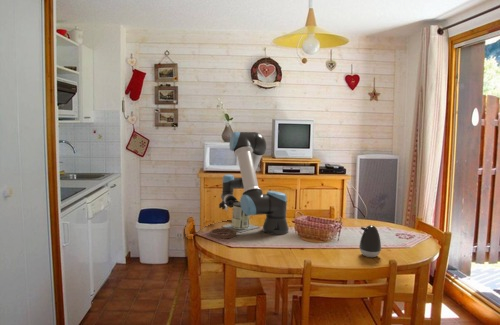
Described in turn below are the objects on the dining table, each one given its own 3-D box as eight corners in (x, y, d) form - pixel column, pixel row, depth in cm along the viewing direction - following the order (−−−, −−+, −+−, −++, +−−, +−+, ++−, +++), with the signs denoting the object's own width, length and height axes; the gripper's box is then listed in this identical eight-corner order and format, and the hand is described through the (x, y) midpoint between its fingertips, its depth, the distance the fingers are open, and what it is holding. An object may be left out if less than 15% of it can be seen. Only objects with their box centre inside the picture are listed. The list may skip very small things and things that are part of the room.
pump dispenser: (355, 252, 200) (357, 222, 198) (375, 252, 200) (377, 222, 199) (362, 259, 190) (364, 228, 188) (383, 259, 190) (386, 228, 189)
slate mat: (259, 227, 239) (259, 226, 239) (240, 232, 227) (240, 231, 227) (240, 222, 250) (240, 221, 250) (221, 226, 238) (221, 226, 238)
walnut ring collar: (241, 234, 223) (241, 232, 223) (222, 239, 212) (222, 237, 212) (223, 229, 233) (223, 226, 233) (204, 233, 222) (204, 231, 222)
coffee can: (236, 224, 242) (238, 201, 241) (251, 227, 238) (253, 204, 237) (228, 227, 233) (230, 203, 232) (243, 230, 229) (245, 206, 228)
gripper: (248, 205, 267) (257, 214, 247) (211, 206, 261) (217, 215, 240) (248, 195, 266) (257, 202, 246) (212, 195, 260) (217, 203, 239)
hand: (237, 208), depth 243 cm, fingers open, 13 cm apart
